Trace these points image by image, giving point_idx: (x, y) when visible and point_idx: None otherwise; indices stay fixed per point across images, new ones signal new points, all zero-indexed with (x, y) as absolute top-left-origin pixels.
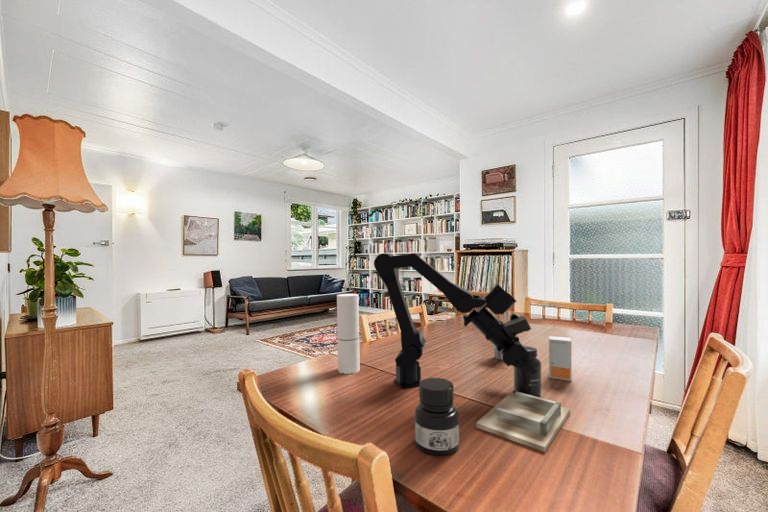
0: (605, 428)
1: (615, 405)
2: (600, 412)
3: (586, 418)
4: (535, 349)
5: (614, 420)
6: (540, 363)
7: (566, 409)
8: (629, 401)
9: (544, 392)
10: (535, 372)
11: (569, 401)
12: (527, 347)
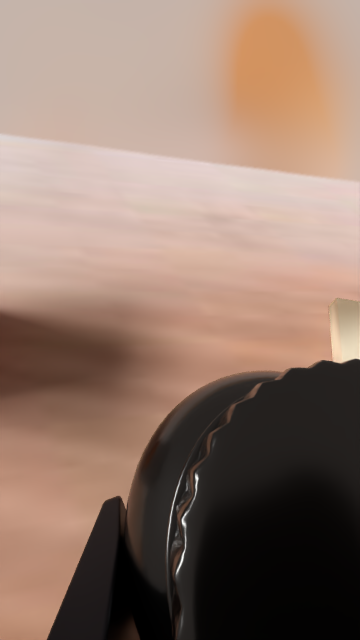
0: (356, 229)
1: (173, 200)
2: (254, 233)
3: (329, 265)
4: (351, 379)
5: (286, 210)
6: (274, 371)
7: (351, 307)
8: (121, 172)
9: None
10: None
11: (220, 309)
12: (319, 602)
